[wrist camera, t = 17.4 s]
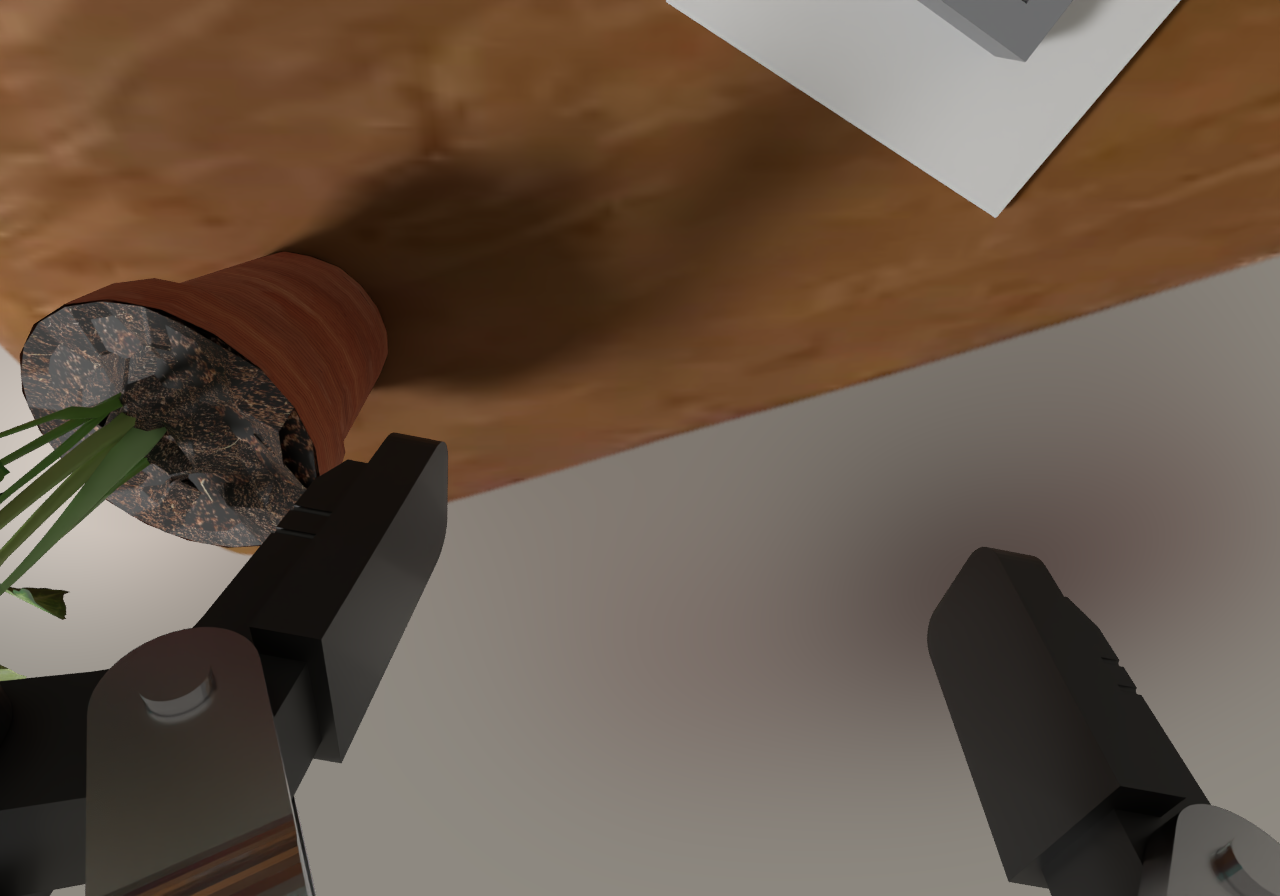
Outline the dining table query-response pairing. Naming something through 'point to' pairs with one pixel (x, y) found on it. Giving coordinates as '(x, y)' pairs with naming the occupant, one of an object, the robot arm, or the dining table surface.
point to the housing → (946, 72)
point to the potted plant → (193, 402)
